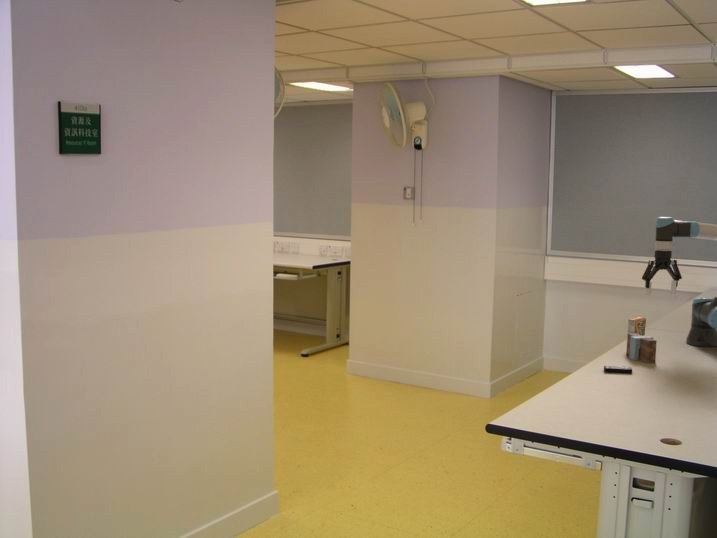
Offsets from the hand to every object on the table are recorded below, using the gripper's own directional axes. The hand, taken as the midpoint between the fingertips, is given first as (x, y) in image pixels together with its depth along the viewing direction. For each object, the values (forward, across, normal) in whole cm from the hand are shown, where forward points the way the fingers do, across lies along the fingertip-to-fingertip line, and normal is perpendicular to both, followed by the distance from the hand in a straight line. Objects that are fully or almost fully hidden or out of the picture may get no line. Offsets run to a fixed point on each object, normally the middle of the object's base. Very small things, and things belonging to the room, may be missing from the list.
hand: (661, 294), depth 375 cm
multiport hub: (+27, +45, +35) cm, 63 cm away
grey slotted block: (+26, +20, +15) cm, 37 cm away
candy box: (+27, +12, 0) cm, 29 cm away
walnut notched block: (+26, +20, +15) cm, 37 cm away
